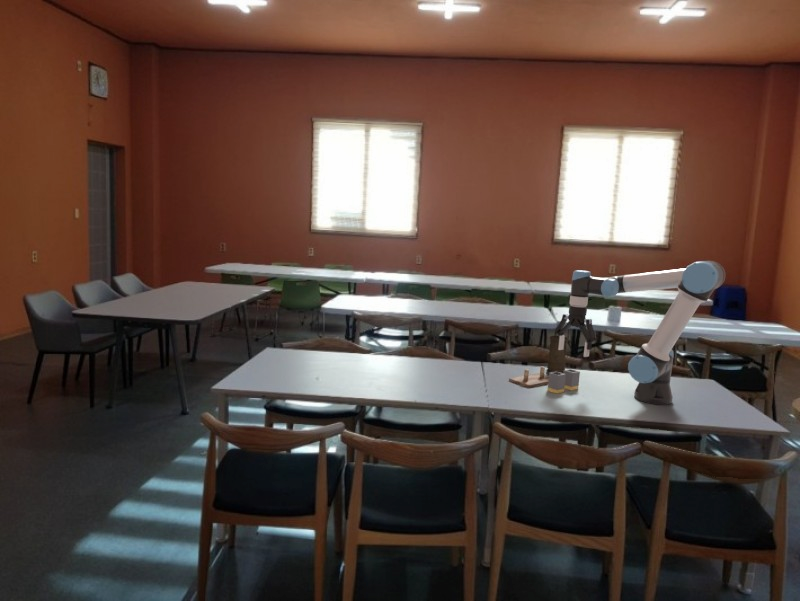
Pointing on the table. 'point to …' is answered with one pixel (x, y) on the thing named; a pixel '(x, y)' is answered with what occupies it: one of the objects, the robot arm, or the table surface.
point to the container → (556, 356)
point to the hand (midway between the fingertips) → (573, 353)
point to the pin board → (531, 379)
